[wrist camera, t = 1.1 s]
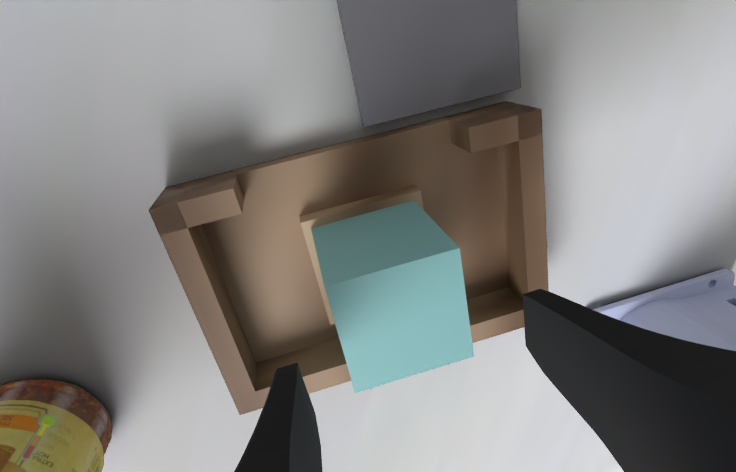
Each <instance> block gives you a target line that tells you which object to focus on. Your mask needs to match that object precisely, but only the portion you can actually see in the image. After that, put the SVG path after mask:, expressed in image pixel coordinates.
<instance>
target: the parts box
mask: <svg viewBox="0 0 736 472" xmlns="http://www.w3.org/2000/svg"><path fill="white" fill-rule="evenodd" d="M413 200H414V201H415V202H416V203H417V204H418V205H419V206H420V207H421V208H422V209H423V210H424V211H425V212H426V213H427V214H428V215H429V216H430V217H431V218H432V219H433V221H434V222H435V223H436V224H437V225H438V226H439V227H440V228H441V229H442V230H443V231H444V232H445V233H446V234H447V235H448V236H449V237H450V238H451V239H452V240H453V241H454V242H455V243H456V245H457V246H458V247H459V248H460V254H461V261H462V269H463V277H464V284H465V292H466V299H467V307H468V314H469V322H470V330H471V337H472V343H474V342H477V341H480V340H484V339H487V338H490V337H493V336H497V335H500V334H503V333H506V332H510V331H513V330H516V329H519V328H522V327H525V324H524V309H523V294H525V293H528V292H531V291H534V290H538V289H543V290H546V291H548V268H547V242H546V217H545V192H544V167H543V141H542V116H541V109H538V108H534V107H529V106H525V105H520V104H516V103H511V102H507V101H506V102H502V103H498V104H494V105H490V106H486V107H482V108H478V109H474V110H471V111H467V112H463V113H459V114H455V115H451V116H447V117H443V118H439V119H435V120H431V121H427V122H423V123H419V124H415V125H411V126H407V127H403V128H399V129H395V130H391V131H388V132H384V133H380V134H376V135H372V136H368V137H364V138H360V139H356V140H352V141H348V142H344V143H340V144H336V145H332V146H328V147H324V148H320V149H316V150H312V151H309V152H305V153H301V154H297V155H293V156H289V157H285V158H281V159H277V160H273V161H269V162H265V163H261V164H257V165H253V166H249V167H245V168H241V169H237V170H233V171H229V172H226V173H222V174H218V175H214V176H210V177H206V178H202V179H198V180H194V181H190V182H186V183H182V184H178V185H174V186H170V187H166V188H165V189H164V190H163V192H162V193H161V194H160V196H159V197H158V198H157V200H156V201H155V202H154V204H153V205H152V206H151V208H150V209H149V212H150V214H151V217H152V219H153V221H154V223H155V226H156V228H157V230H158V232H159V235H160V237H161V239H162V241H163V244H164V246H165V248H166V250H167V252H168V255H169V257H170V259H171V261H172V264H173V266H174V268H175V270H176V273H177V275H178V277H179V279H180V282H181V284H182V286H183V288H184V291H185V293H186V295H187V297H188V300H189V302H190V304H191V306H192V309H193V311H194V313H195V315H196V318H197V320H198V322H199V324H200V326H201V329H202V331H203V333H204V335H205V338H206V340H207V342H208V344H209V347H210V349H211V351H212V353H213V356H214V358H215V360H216V362H217V365H218V367H219V369H220V371H221V374H222V376H223V378H224V380H225V383H226V385H227V387H228V389H229V392H230V394H231V396H232V398H233V400H234V403H235V405H236V407H237V409H238V412H239V414H240V415H241V414H245V413H248V412H251V411H254V410H258V409H261V408H263V407H264V404H265V402H266V399H267V396H268V393H269V390H270V387H271V384H272V380H273V377H274V373H275V371H276V370H277V368H281V367H284V366H287V365H291V364H294V363H298V366H299V369H300V371H301V374H302V377H303V380H304V383H305V386H306V389H307V392H308V394H309V393H312V392H316V391H319V390H322V389H325V388H329V387H332V386H335V385H338V384H342V383H345V382H348V381H351V377H350V374H349V370H348V367H347V363H346V360H345V356H344V353H343V349H342V346H341V342H340V339H339V335H338V332H337V329H336V325H335V322H334V318H333V315H332V311H331V308H330V304H329V301H328V297H327V294H326V290H325V287H324V283H323V278H322V274H321V270H320V265H319V261H318V257H317V253H316V248H315V244H314V240H313V235H312V231H311V228H314V227H318V226H321V225H325V224H329V223H332V222H336V221H340V220H343V219H347V218H351V217H354V216H358V215H362V214H365V213H369V212H373V211H377V210H380V209H384V208H388V207H391V206H395V205H399V204H402V203H406V202H410V201H413Z"/></svg>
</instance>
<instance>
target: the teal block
mask: <svg viewBox="0 0 736 472" xmlns="http://www.w3.org/2000/svg"><path fill="white" fill-rule="evenodd" d="M311 231H312V235H313V240H314V244H315V248H316V253H317V257H318V261H319V265H320V270H321V274H322V278H323V283H324V287H325V290H326V294H327V297H328V301H329V304H330V308H331V311H332V315H333V318H334V322H335V325H336V329H337V332H338V335H339V339H340V342H341V346H342V349H343V353H344V356H345V360H346V363H347V367H348V370H349V374H350V377H351V381H352V384H353V388H354V391H355V393H358V392H361V391H364V390H367V389H370V388H374V387H377V386H380V385H383V384H386V383H390V382H393V381H396V380H399V379H402V378H406V377H409V376H412V375H415V374H418V373H422V372H425V371H428V370H431V369H434V368H438V367H441V366H444V365H447V364H450V363H454V362H457V361H460V360H463V359H466V358H470V357H473V356H474V352H473V345H472V337H471V330H470V322H469V314H468V307H467V299H466V292H465V284H464V277H463V269H462V261H461V254H460V248H459V247H458V246H457V245H456V243H455V242H454V241H453V240H452V239H451V238H450V237H449V236H448V235H447V234H446V233H445V232H444V231H443V230H442V229H441V228H440V227H439V226H438V225H437V224H436V223H435V222H434V221H433V219H432V218H431V217H430V216H429V215H428V214H427V213H426V212H425V211H424V210H423V209H422V208H421V207H420V206H419V205H418V204H417V203H416V202H415V201H414V200H413V201H410V202H406V203H402V204H399V205H395V206H391V207H388V208H384V209H380V210H377V211H373V212H369V213H365V214H362V215H358V216H354V217H351V218H347V219H343V220H340V221H336V222H332V223H329V224H325V225H321V226H318V227H314V228H311Z"/></svg>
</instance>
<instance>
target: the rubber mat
mask: <svg viewBox="0 0 736 472" xmlns="http://www.w3.org/2000/svg"><path fill="white" fill-rule="evenodd" d="M337 4H338V9H339V14H340V18H341V23H342V28H343V33H344V38H345V42H346V47H347V52H348V57H349V62H350V66H351V71H352V76H353V81H354V86H355V90H356V95H357V100H358V105H359V110H360V114H361V119H362V124H363V126H364V127H367V126H371V125H375V124H379V123H383V122H387V121H391V120H395V119H399V118H403V117H407V116H411V115H415V114H419V113H423V112H427V111H431V110H435V109H439V108H443V107H447V106H451V105H455V104H459V103H463V102H467V101H471V100H475V99H479V98H483V97H487V96H491V95H495V94H499V93H503V92H507V91H511V90H514V89H518V88H521V84H520V66H519V49H518V31H517V14H516V0H337Z"/></svg>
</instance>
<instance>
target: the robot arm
mask: <svg viewBox="0 0 736 472" xmlns="http://www.w3.org/2000/svg"><path fill="white" fill-rule="evenodd" d="M733 282H734V272H732V271H730V270H728V269H721V270H718V271H715V272H712V273H708V274H705V275H702V276H699V277H695V278H692V279H689V280H686V281H683V282H679V283H676V284H673V285H670V286H666V287H663V288H660V289H657V290H654V291H650V292H647V293H644V294H641V295H637V296H634V297H631V298H628V299H625V300H621V301H618V302H615V303H612V304H608V305H605V306H602V307H599V308H596V309H589V308H587V307H585V306H582V305H580V304H577V303H575V302H573V301H570V300H568V299H565V298H563V297H561V296H558V295H556V294H553V293H551V292H548V291H546V290H543V289H538V290H534V291H531V292H528V293H525V294H523V309H524V324H525V339H526V347H527V348H528V350H529V351H530V353H531V354H532V356H533V358H534V359H535V361H536V362H537V364H538V365H539V367H540V368H541V369H542V371H543V372H544V374H545V375H546V376H547V377H548V378H549V380H550V381H551V382H552V383H553V384H554V385H555V387H556V388H557V389H558V390H559V391H560V392H561V394H562V395H563V396H564V397H565V398H566V399H567V400H568V402H569V403H570V404H571V405H572V406H573V407H574V408H575V410H576V411H577V412H578V413H579V414H580V415H581V416H582V418H583V419H584V420H585V421H586V422H587V423H588V424H589V426H590V427H591V428H592V429H593V430H594V431H595V433H596V434H597V435H598V436H599V438H600V439H601V440H602V441H603V443H604V444H605V445H606V447H607V448H608V450H609V451H610V452H611V454H612V455H613V457H614V458H615V459H616V461H617V462H618V464H619V465H620V466H621V468H622V469H623V471H624V472H736V286H734V285H733ZM234 472H322V459H321V445H320V439H319V433H318V427H317V422H316V416H315V412H314V409H313V406H312V403H311V400H310V397H309V394H308V392H307V389H306V386H305V383H304V380H303V377H302V374H301V371H300V369H299V366H298V363H294V364H291V365H287V366H284V367H281V368H277V370H276V371H275V373H274V377H273V380H272V384H271V387H270V390H269V393H268V396H267V399H266V402H265V404H264V407H263V410H262V412H261V415H260V417H259V420H258V423H257V425H256V427H255V430H254V432H253V434H252V437H251V439H250V441H249V443H248V445H247V447H246V450H245V452H244V454H243V456H242V458H241V460H240V462H239V464H238V466H237V468H236V470H235V471H234Z"/></svg>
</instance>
